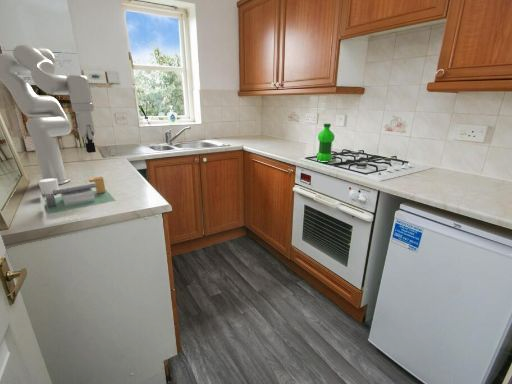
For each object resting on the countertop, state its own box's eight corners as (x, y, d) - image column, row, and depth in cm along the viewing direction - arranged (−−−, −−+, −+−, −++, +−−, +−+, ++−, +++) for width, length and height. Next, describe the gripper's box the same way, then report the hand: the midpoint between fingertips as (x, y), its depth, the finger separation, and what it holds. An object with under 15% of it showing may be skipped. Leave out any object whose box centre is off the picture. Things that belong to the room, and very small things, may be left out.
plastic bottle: (330, 160, 191) (333, 123, 182) (332, 164, 181) (336, 124, 173) (315, 160, 191) (318, 123, 183) (317, 163, 182) (320, 124, 173)
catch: (91, 192, 119) (88, 178, 117) (104, 190, 122) (101, 176, 120) (92, 194, 116) (89, 180, 114) (105, 191, 119) (103, 178, 117)
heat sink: (47, 202, 108) (44, 192, 107) (90, 194, 117) (89, 185, 116) (48, 210, 101) (46, 199, 99) (95, 201, 110) (93, 191, 108)
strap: (53, 195, 103) (52, 192, 103) (52, 193, 106) (52, 190, 106) (97, 187, 112) (96, 184, 111) (95, 185, 114) (95, 182, 114)
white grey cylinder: (64, 192, 124) (61, 177, 121) (54, 198, 117) (50, 182, 115) (48, 192, 123) (44, 177, 121) (37, 198, 117) (33, 182, 115)
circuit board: (45, 203, 111) (44, 199, 111) (106, 192, 124) (105, 189, 124) (48, 217, 98) (47, 213, 98) (116, 204, 111) (115, 200, 110)
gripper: (69, 107, 117) (78, 150, 123) (74, 108, 106) (84, 155, 112) (90, 107, 122) (97, 149, 128) (96, 108, 111) (104, 153, 117)
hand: (91, 152), depth 120 cm, fingers closed
